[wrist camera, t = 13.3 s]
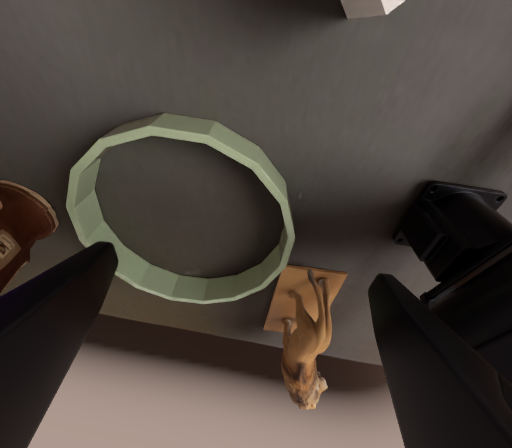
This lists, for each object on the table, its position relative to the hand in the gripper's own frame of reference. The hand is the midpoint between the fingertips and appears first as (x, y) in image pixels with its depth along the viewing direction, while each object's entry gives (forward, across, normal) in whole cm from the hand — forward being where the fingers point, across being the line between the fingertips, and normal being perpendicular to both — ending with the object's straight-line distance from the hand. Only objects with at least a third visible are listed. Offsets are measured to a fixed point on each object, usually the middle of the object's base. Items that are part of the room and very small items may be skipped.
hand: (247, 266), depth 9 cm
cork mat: (+12, -8, +20) cm, 24 cm away
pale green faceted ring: (+13, +5, +8) cm, 16 cm away
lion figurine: (+12, -8, +20) cm, 25 cm away
